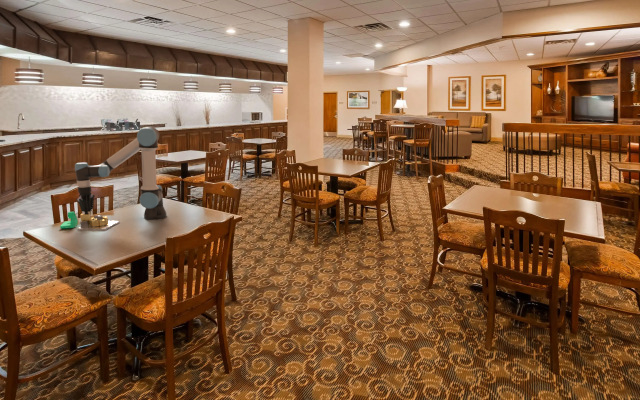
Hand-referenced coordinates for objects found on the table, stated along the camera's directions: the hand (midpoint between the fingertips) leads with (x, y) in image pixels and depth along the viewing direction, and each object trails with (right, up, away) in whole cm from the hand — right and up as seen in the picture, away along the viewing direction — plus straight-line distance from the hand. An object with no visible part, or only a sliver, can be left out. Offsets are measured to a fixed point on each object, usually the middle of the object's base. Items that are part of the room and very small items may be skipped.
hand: (88, 220), depth 269 cm
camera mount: (-11, -4, -4) cm, 12 cm away
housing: (+8, -3, -2) cm, 9 cm away
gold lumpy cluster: (+5, -2, -3) cm, 6 cm away
